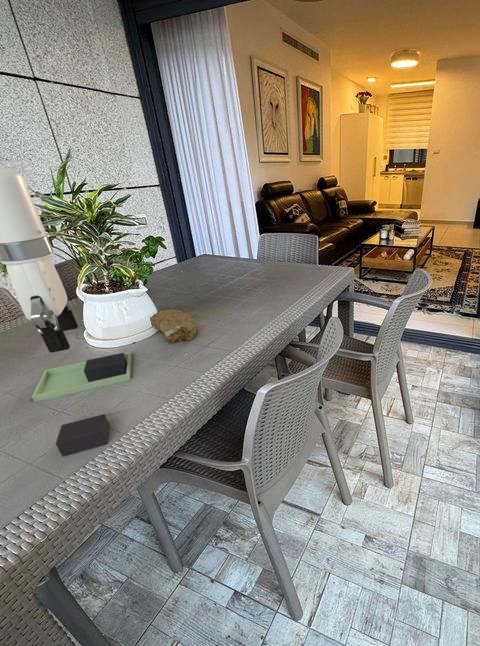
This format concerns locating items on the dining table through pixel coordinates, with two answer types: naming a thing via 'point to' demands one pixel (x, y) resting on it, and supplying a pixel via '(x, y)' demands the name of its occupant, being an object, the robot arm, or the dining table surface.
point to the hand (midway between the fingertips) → (65, 339)
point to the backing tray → (73, 380)
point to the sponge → (174, 324)
